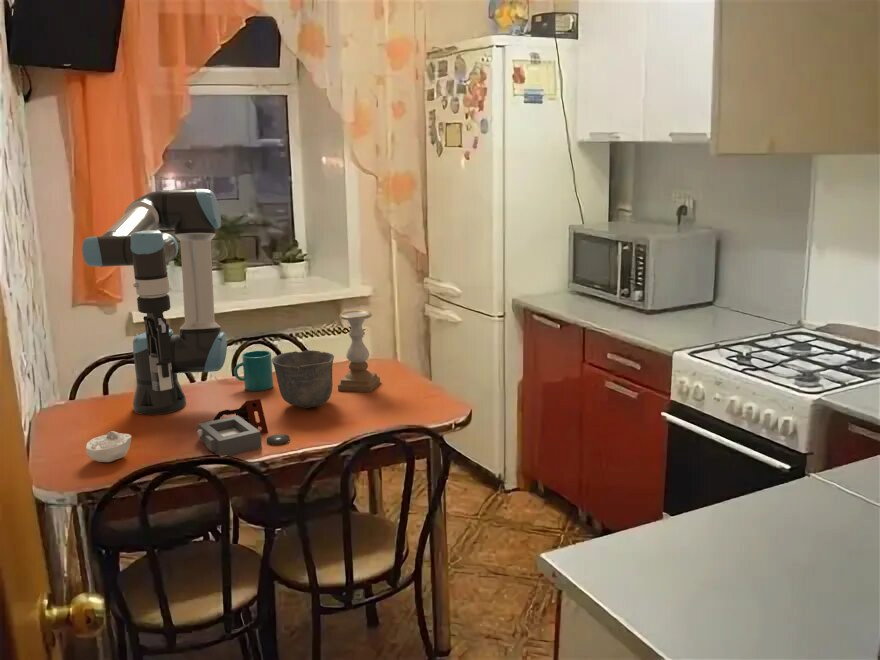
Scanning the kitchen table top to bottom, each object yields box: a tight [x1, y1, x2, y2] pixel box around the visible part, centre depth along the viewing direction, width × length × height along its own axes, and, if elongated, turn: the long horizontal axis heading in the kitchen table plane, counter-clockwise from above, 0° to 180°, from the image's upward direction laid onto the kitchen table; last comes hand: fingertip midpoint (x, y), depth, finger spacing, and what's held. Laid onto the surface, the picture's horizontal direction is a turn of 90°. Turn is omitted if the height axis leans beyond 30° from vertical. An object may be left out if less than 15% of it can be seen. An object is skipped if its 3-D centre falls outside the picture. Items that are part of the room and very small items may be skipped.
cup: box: [233, 350, 274, 392], centre depth 266 cm, size 9×12×11 cm
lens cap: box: [266, 433, 291, 446], centre depth 221 cm, size 6×6×1 cm
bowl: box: [271, 349, 335, 409], centre depth 247 cm, size 18×18×15 cm
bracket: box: [213, 398, 269, 435], centre depth 232 cm, size 10×14×10 cm
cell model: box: [85, 430, 132, 463], centre depth 211 cm, size 10×12×7 cm
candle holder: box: [337, 310, 381, 393], centre depth 264 cm, size 11×11×24 cm
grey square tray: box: [197, 415, 263, 457], centre depth 219 cm, size 16×12×4 cm
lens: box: [149, 351, 174, 391], centre depth 207 cm, size 5×5×9 cm
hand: (162, 386), depth 208 cm, fingers closed on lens, 5 cm apart
